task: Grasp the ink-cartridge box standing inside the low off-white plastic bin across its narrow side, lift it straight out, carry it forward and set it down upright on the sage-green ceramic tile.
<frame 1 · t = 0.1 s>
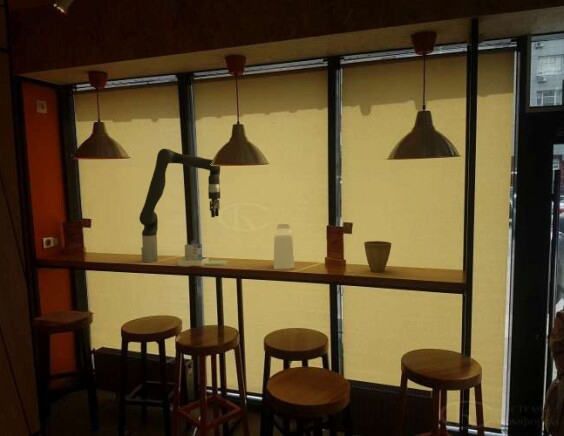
hand: (214, 216, 283), 29 cm above the table, fingers open, 8 cm apart
tile: (216, 263, 278), on the table
ink cartridge box: (193, 263, 280), resting in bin
milk: (284, 267, 263), on the table
plant pot: (377, 271, 247), on the table
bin: (193, 263, 280), on the table
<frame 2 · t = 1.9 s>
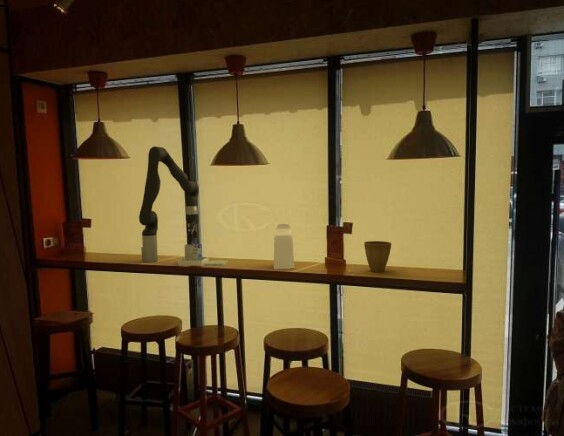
hand: (193, 238, 279), 16 cm above the table, fingers open, 8 cm apart
nothing on the table moved.
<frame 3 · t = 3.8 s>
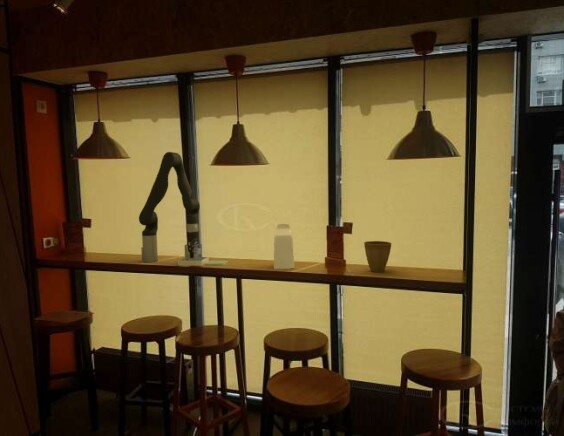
hand: (193, 257, 280), 4 cm above the table, fingers closed on ink cartridge box, 6 cm apart
ink cartridge box: (193, 263, 280), resting in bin, touching gripper
everything else where it was.
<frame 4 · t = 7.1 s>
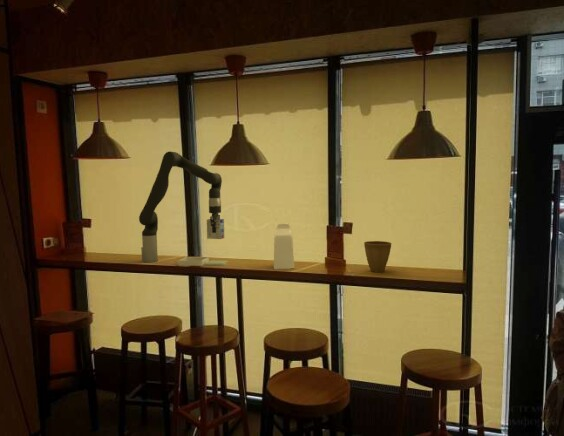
hand: (215, 232, 277), 20 cm above the table, fingers closed on ink cartridge box, 6 cm apart
ink cartridge box: (216, 238, 277), point 16 cm above the table, touching gripper
everything else where it was.
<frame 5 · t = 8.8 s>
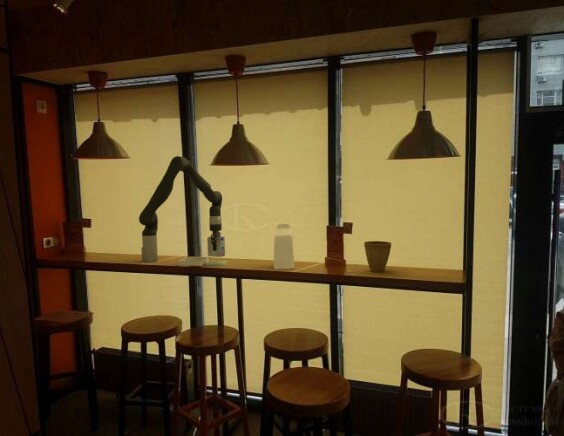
hand: (216, 249, 278), 9 cm above the table, fingers closed on ink cartridge box, 6 cm apart
ink cartridge box: (216, 256, 278), point 5 cm above the table, touching gripper
everything else where it was.
when the fingers open (6 cm above the table, at t = 10.3 s): ink cartridge box drops 1 cm, resting on tile.
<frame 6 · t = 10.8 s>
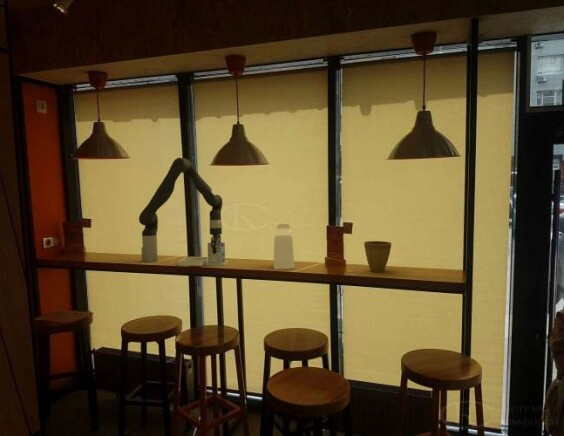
hand: (216, 252, 278), 7 cm above the table, fingers open, 8 cm apart
ink cartridge box: (216, 262, 278), point 1 cm above the table, touching tile
everything else where it was.
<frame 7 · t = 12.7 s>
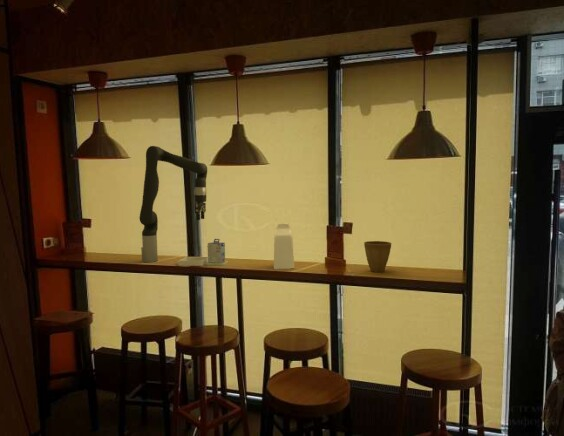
hand: (200, 219, 284), 27 cm above the table, fingers open, 8 cm apart
nothing on the table moved.
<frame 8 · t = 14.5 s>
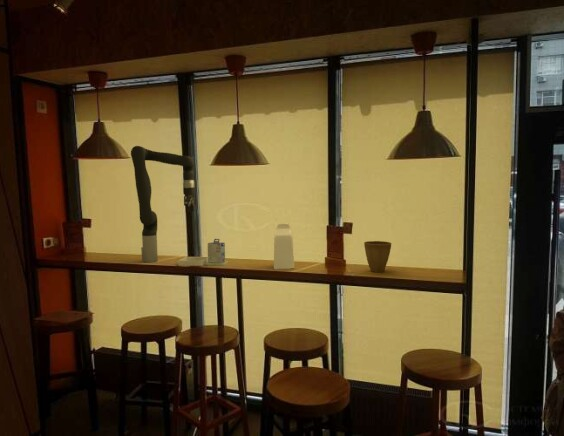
hand: (189, 211, 291), 32 cm above the table, fingers open, 8 cm apart
nothing on the table moved.
at the end: ink cartridge box 0.3 cm from the tile (horizontally); ink cartridge box touching tile; ink cartridge box tilted 0° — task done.
